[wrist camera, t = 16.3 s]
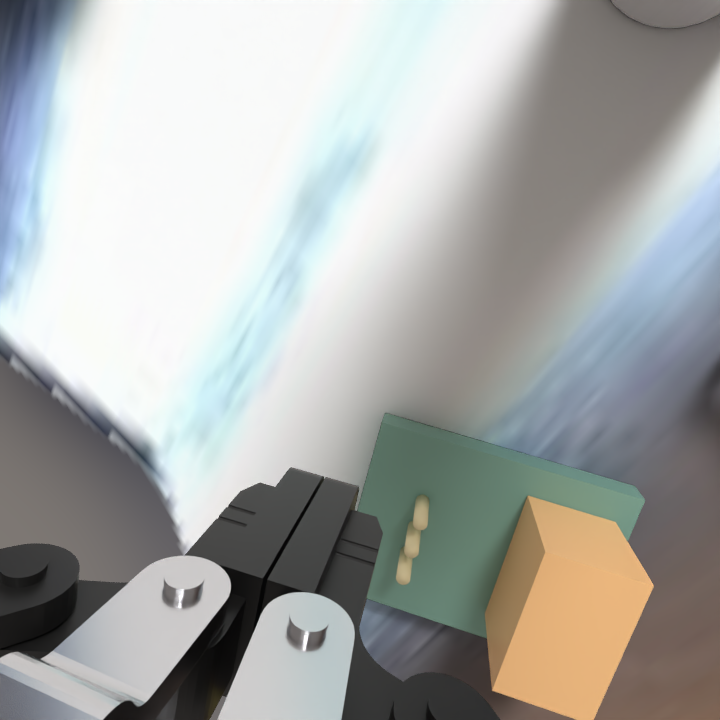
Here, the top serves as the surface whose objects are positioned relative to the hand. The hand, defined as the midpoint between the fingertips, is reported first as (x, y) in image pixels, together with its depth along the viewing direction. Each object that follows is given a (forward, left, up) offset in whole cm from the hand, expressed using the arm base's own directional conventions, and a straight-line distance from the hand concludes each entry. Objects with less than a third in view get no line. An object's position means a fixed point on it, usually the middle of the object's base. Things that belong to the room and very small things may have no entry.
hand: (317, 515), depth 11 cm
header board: (-9, +12, -25) cm, 29 cm away
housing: (-13, +12, -23) cm, 29 cm away
